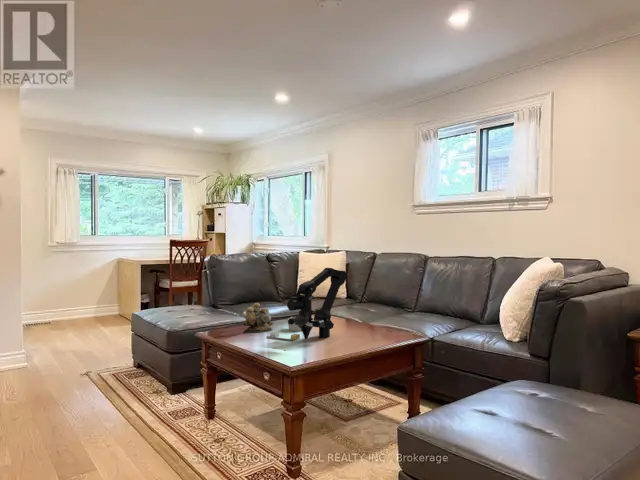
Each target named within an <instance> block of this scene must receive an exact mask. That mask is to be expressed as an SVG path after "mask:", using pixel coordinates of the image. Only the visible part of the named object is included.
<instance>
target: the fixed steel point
mask: <svg viewBox="0 0 640 480" xmlns="http://www.w3.org/2000/svg"><path fill="white" fill-rule="evenodd" d="M269 336H270V337H278V338H279V337H280V332H279V331H270V333H269Z"/></svg>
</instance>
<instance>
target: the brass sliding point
mask: <svg viewBox="0 0 640 480" xmlns="http://www.w3.org/2000/svg"><path fill="white" fill-rule="evenodd" d="M289 339H293V341H292V342H294V341H298V340H300V339H301V335H300V333H292V334H290V338H289Z"/></svg>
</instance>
